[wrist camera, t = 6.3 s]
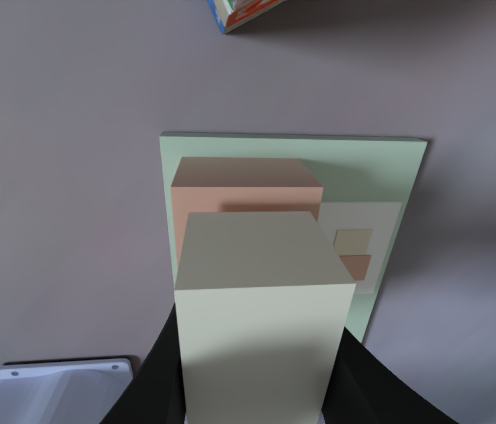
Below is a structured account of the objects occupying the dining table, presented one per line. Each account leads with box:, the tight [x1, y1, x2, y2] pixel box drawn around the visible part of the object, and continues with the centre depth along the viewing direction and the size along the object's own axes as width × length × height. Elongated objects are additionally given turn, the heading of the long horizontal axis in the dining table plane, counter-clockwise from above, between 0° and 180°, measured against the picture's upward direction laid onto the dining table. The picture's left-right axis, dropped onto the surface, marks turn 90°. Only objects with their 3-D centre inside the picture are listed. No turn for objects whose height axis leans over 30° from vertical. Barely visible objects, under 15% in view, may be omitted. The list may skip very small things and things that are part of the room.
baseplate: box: [159, 132, 427, 413], centre depth 19 cm, size 14×24×5 cm, turn 177°
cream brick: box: [174, 211, 356, 424], centre depth 11 cm, size 4×9×4 cm, turn 177°
